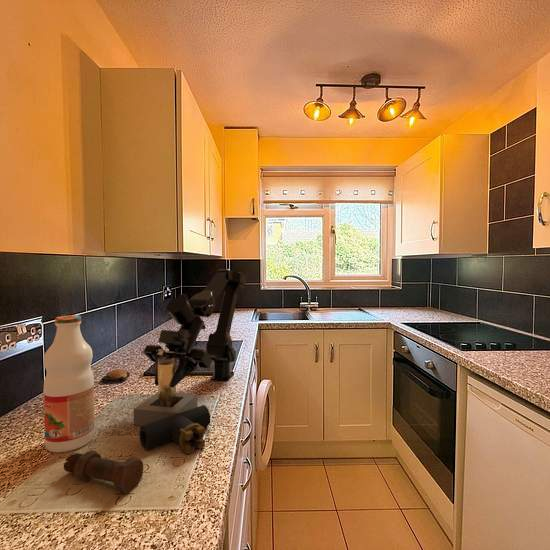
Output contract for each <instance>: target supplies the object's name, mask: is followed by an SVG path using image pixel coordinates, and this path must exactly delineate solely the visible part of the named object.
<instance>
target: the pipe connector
mask: <svg viewBox="0 0 550 550" xmlns="http://www.w3.org/2000/svg"><path fill="white" fill-rule="evenodd" d="M210 424H211V414H210V410H209V408H208V406H206V405H205V404H203V405H199V406H197V407H196V408H193V409H190V410H187V411H184V412H181V413H178V414H175V415H172V416H169V417H166V418H163V419H160V420H157V421H154V422H152V423H149V424H146V425H143V426H139V431H138V433H139V435H138V436H139V441H140V445H141V447H142V448H143V449H144V450H145V451H148V450H150V449H152V448H153V449H154V448H155V447H159V446H160V445H163V444H165V443H168V442H171V441H174V442H175V443H177V444H178V445H179V446H180V447H179V449H181V450H182V451H183V452H185V453H186V454H191V453H193V452H194V450H195V449H202V448H205V447H206V446H205V445H206V443H205V441H206V440H205V439H204V435H205V434H206V433H205V428H207V427H208V426H210Z"/></svg>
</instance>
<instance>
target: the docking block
mask: <svg viewBox="0 0 550 550" xmlns="http://www.w3.org/2000/svg"><path fill="white" fill-rule="evenodd" d="M196 407H198V394H197V393H187V392H177V391H176V405H175V406H173V407H161V406H158V391H157V392H155V393H154V394H153V395H151V396H150V397H148V398H147V399H146V400H144V401H143V402H141V403H140V404H139V405H137V406H136V407H134V408H133V426H139V427H141V426H143V425H146V424H149V423H152V422H154V421H157V420H160V419H163V418H166V417H169V416H172V415H175V414H178V413H181V412H184V411H187V410H190V409H193V408H196Z"/></svg>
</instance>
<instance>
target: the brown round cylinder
mask: <svg viewBox="0 0 550 550" xmlns="http://www.w3.org/2000/svg"><path fill="white" fill-rule="evenodd" d="M176 360H177V359H176V357H175V356H172V355H166V356H161V357H159V358H158V386H157V392H158V406H161V407H173V406H175V405H176V392H177V385H176V386H175V387H173V388H171V387H170V385H171V382H172V379H173V377H174V375H175V372H176V370H177V368H176V365H177V364H176V362H177V361H176Z"/></svg>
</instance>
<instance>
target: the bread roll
mask: <svg viewBox="0 0 550 550" xmlns="http://www.w3.org/2000/svg"><path fill="white" fill-rule="evenodd" d="M129 377H130V372H129V371H126V370H125V369H123V368H115V369H114V368H113V369H112V370H111V371H108V372H107V373H106V375H104V376H103V377H101V379H100V381H101V384H102V385H103V386H105V385H107V386H108V385H118V384H119V385H120V384H122V383H123V384H124V383H125V382H127V380H128V378H129Z"/></svg>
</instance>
